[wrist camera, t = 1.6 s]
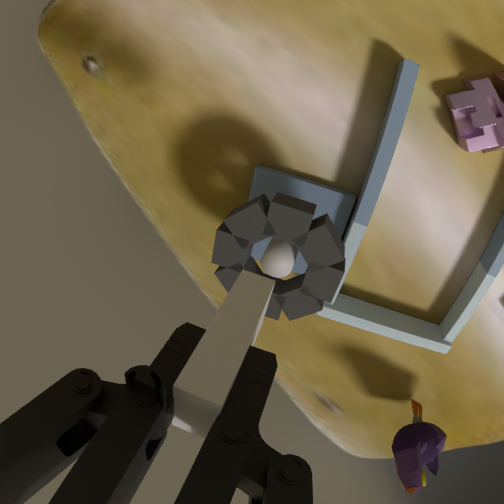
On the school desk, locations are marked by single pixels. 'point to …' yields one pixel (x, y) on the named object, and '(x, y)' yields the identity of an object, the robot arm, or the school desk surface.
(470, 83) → the letters
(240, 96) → the school desk surface
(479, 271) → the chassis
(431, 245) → the school desk surface
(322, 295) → the wheel
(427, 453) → the toy
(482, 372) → the school desk surface
